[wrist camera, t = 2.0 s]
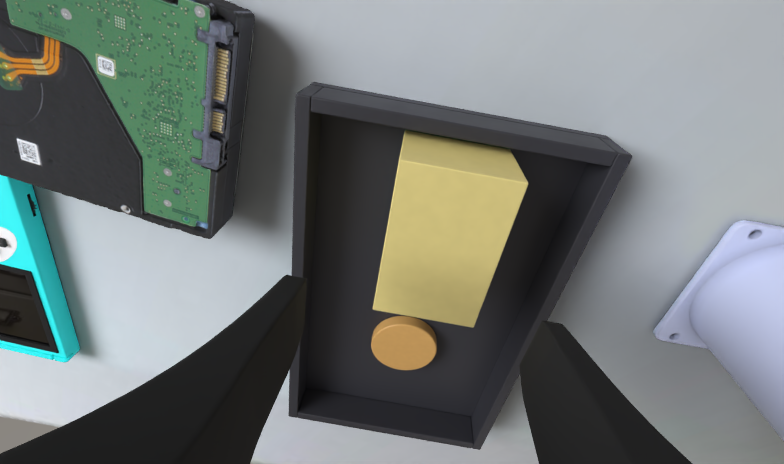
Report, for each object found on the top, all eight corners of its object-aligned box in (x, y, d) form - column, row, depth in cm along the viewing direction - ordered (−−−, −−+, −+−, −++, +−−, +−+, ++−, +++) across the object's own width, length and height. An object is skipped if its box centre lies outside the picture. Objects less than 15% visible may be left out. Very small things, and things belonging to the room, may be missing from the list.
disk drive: (-44, 128, 19) (238, 216, 21) (-111, 145, 17) (212, 245, 18) (-127, -134, 14) (260, 5, 15) (-242, -162, 12) (227, 5, 13)
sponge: (506, 141, 17) (529, 183, 13) (465, 266, 20) (473, 328, 16) (406, 123, 17) (399, 159, 13) (383, 251, 20) (372, 310, 16)
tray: (606, 135, 17) (633, 156, 15) (476, 414, 28) (480, 450, 26) (313, 81, 17) (295, 93, 14) (299, 383, 28) (288, 416, 26)
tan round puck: (443, 321, 23) (443, 331, 22) (429, 365, 25) (429, 375, 24) (377, 309, 22) (375, 319, 22) (368, 354, 25) (367, 364, 24)
